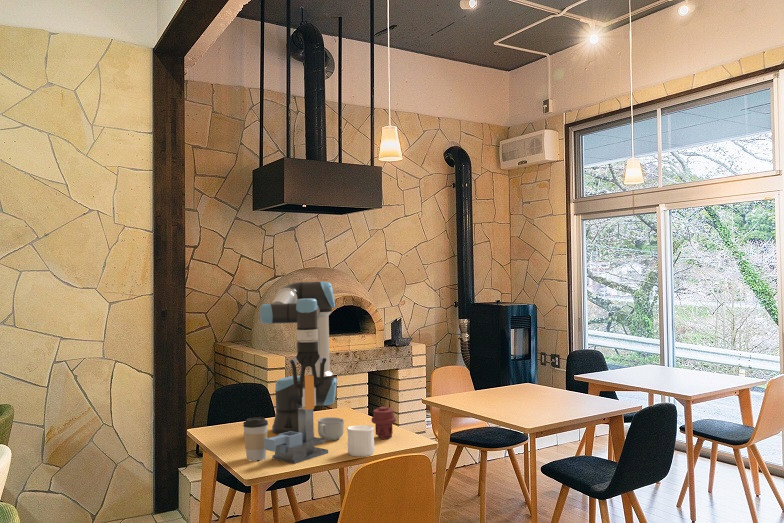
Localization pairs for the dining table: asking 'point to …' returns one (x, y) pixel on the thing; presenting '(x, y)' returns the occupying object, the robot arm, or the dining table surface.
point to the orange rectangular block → (309, 391)
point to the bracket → (283, 441)
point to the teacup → (330, 428)
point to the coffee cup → (255, 438)
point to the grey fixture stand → (303, 441)
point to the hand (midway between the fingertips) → (309, 405)
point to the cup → (360, 440)
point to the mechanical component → (383, 422)
